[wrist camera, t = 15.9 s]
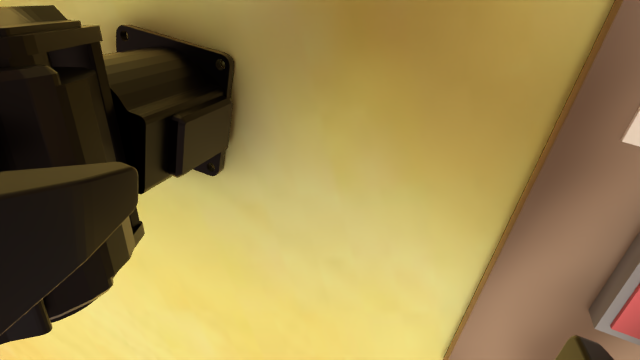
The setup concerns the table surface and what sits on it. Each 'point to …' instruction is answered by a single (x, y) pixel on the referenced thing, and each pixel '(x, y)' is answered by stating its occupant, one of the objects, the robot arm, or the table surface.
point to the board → (573, 223)
